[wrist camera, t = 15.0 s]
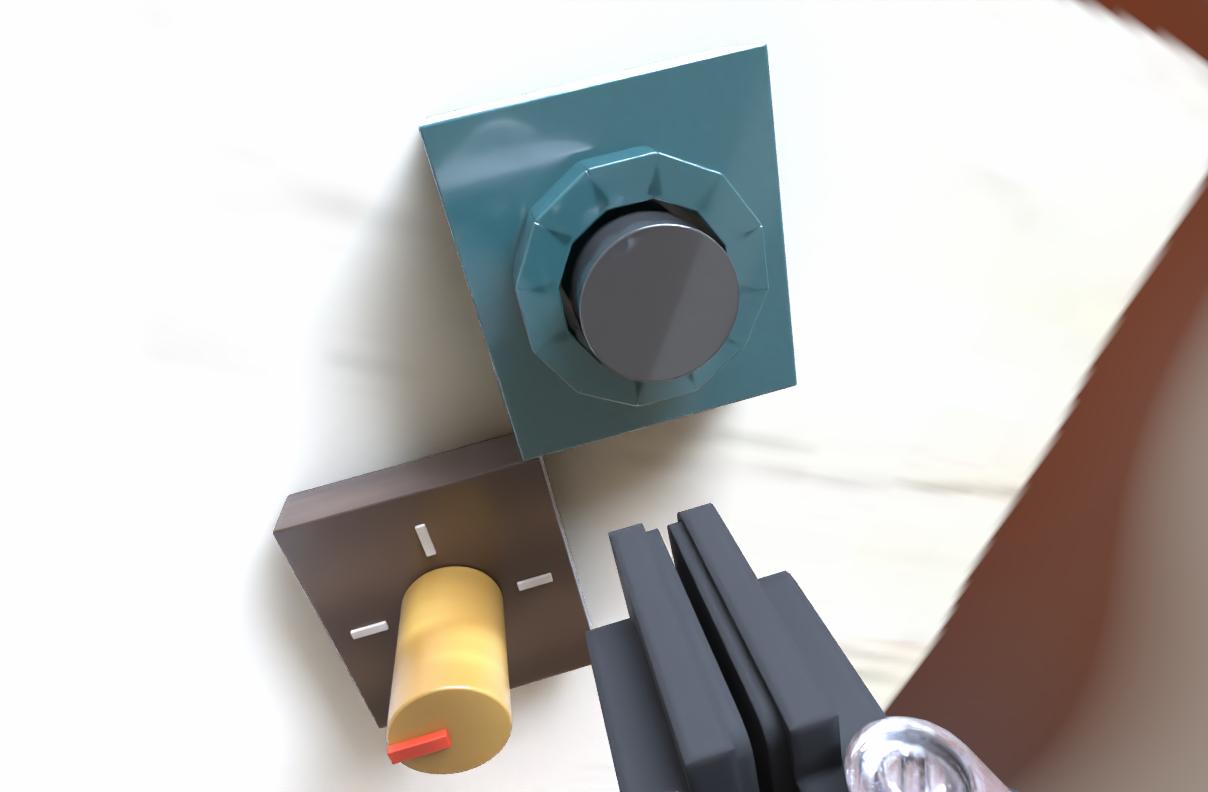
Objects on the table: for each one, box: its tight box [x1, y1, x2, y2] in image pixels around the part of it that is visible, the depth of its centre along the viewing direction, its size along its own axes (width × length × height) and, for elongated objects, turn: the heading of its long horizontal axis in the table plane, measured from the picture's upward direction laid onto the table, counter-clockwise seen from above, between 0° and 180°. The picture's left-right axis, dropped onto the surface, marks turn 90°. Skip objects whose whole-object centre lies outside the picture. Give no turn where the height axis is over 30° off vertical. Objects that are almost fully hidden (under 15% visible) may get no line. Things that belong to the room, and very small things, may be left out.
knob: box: [386, 566, 512, 774], centre depth 25 cm, size 4×4×6 cm
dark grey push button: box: [570, 210, 739, 382], centre depth 19 cm, size 4×4×2 cm
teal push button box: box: [419, 43, 797, 461], centre depth 22 cm, size 11×10×6 cm
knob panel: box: [273, 433, 593, 728], centre depth 29 cm, size 11×10×3 cm
